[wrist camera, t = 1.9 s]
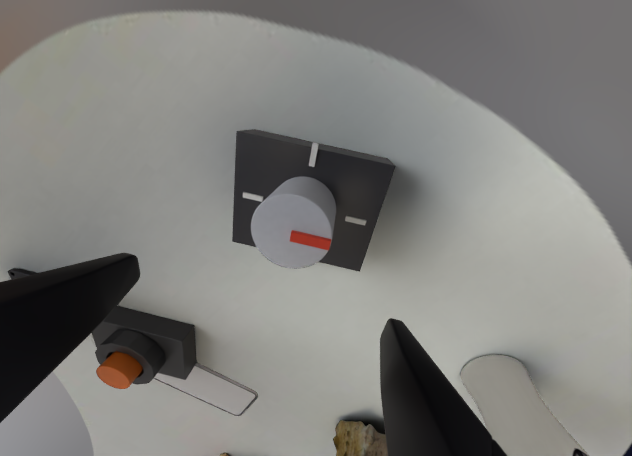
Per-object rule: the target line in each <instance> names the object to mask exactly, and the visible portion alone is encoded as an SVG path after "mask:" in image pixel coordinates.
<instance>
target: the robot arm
mask: <svg viewBox="0 0 632 456" xmlns="http://www.w3.org/2000/svg"><path fill="white" fill-rule="evenodd" d="M8 273H9V275H10V277H11V279H12V280H8V281H4V282H0V423H1V422H2V421H3V420H4V418H6V417H7V416H8V415H9V414H10V413H11V412H12V411H13V410H14V409H15V408H16V407H17V406H18V405H19V404H20V403H21V402H22V401H23V400H24V399H25V398H26V397H27V396H28V395H29V394H30V393H31V392H32V391H33V390H34V389H35V388H36V387H37V386H38V385H39V384H40V383H41V382H42V381H43V380H44V379H45V378H46V377H47V376H48V375H49V374H50V373H51V372H52V371H53V370H54V369H55V368H56V367H57V366H58V365H59V364H60V363H61V362H62V361H63V360H64V359H65V358H66V357H67V356H68V355H69V354H70V353H71V352H72V351H73V350H74V349H75V348H76V347H77V346H78V345H79V344H80V343H81V342H82V341H83V340H85V339H86V338H87V337H88V336H89V335H90V334H91V333H92V332H93V331H94V330H95V329H96V328H97V327H98V326H99V325H100V324H101V323H102V322H103V321H104V319H105V318H106V317H107V316H108V315H109V314H110V313H111V312H112V311H113V309H114V308H115V307H116V306H117V305H118V304H119V302H120V301H121V300H122V299H123V298H124V296H125V295H126V294H127V293H128V292H129V291H130V289H131V288H132V287H133V286H134V285H135V284H136V282H137V281H138V280H139V277H140V269H139V263H138V258H137V257H136V256H135V255H132V254H128V253H120V254H115V255H111V256H107V257H103V258H99V259H95V260H91V261H86V262H82V263H78V264H74V265H70V266H66V267H62V268H57V269H53V270H49V271H45V272H41V273H37V274H36V273H32V272H28V271H24V270H20V269H16V268H14V269H11V270H9V271H8ZM380 383H381V398H382V407H383V416H384V425H385V435H386V444H387V453H388V456H507V454H506V453H505V452H504V451H503V449H502V448H501V447H500V446H499V444H498V443H497V442H496V441H495V440H494V439H492V436H491V434H490V433H489V432H488V430H487V429H486V428H485V427H484V425H483V424H482V423H481V421H480V420H479V419H478V418H477V416H476V415H475V414H474V412H473V411H472V410H471V409H470V407H469V406H468V405H467V404H466V402H465V401H464V400H463V398H462V397H461V396H460V395H459V393H458V392H457V391H456V389H455V388H454V387H453V386H452V384H451V383H450V382H449V381H448V379H447V378H446V377H445V375H444V374H443V373H442V372H441V370H440V369H439V368H438V366H437V365H436V364H435V363H434V361H433V360H432V359H431V358H430V356H429V355H428V354H427V352H426V351H425V350H424V349H423V347H422V346H421V345H420V343H419V342H418V341H417V340H416V338H415V337H414V336H413V335H412V333H411V332H410V331H409V329H408V328H407V327H406V326H405V324H404V323H403V322H402V321H400V320H396V319H392V318H391V319H389V320H388V321H387V323H386V325H385V328H384V330H383V332H382V334H381V338H380Z"/></svg>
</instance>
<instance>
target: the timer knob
mask: <svg viewBox="0 0 632 456" xmlns="http://www.w3.org/2000/svg"><path fill="white" fill-rule="evenodd" d="M335 216H336V203H335V199H334V197H333V195H332V193H331V191H330V190H329V189H328V188H327V187H326V186H325V185H324V184H323V183H321V182H320V181H318V180H316V179H314V178H310V177H294V178H291V179H289V180H287V181H285V182H284V183H282V184H281V185H280V186H279V187H278V188H277V189H276V190H275V191H274V192H273V193H271V194H270V195H269V196H268V197H267V198H266V199H265V200H264V201H263V202H262V203H261V204H260V205H259V206H258V207H257V209H256V210H255V212H254V214H253V217H252V221H251V233H252V237H253V240H254V243H255V245H256V246H257V248H258V249H259V251H260V252H261V253H262V254H263V255H264V256H265V257H266V258H267V259H269V260H270V261H271V262H273V263H275V264H277V265H280V266H283V267H286V268H294V269H297V268H305V267H309V266H311V265H314V264H315V263H317V262H319V261H320V260H321V259H322V258H323V257H324V256H325V255H326V254H327V252H328V250H329V248H330V246H331V242H332V236H333V230H334V223H335Z"/></svg>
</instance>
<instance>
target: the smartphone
mask: <svg viewBox="0 0 632 456" xmlns="http://www.w3.org/2000/svg"><path fill="white" fill-rule="evenodd" d="M154 379H156V380H158V381H160V382H163V383H165V384H167V385H169V386H171V387H173V388H176V389H178V390H180V391H182V392H184V393H187V394H189V395H191V396H193V397H195V398H198V399H200V400H202V401H204V402H206V403H208V404H211V405H213V406H215V407H217V408H219V409H222V410H224V411H226V412H228V413H230V414H233V415H235V416H240V415H242V414H243V413H244V412H245V411H246V410H247V408H248V407H249V406H250V405H251V404H252V403H253V402H254V401H255V400H256V398H257V397H258V394H257V393H256V392H255V391H254V390H252V389H250V388H248V387H246V386H244V385H242V384H240V383H238V382H236V381H233V380H231V379H229V378H227V377H225V376H223V375H221V374H219V373H217V372H214V371H213V370H211V369H209V368H207V367H205V366H203V365H201V364H199V363H197V362H196V364H195V366H194V368H193V369H192V371H191V372H190V374H189V376H188V377H187V379H186V380H183V379H179V378H175V377H172V376H168V375H164V374H160V373H157V374H156V376H155V377H154Z"/></svg>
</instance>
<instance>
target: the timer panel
mask: <svg viewBox="0 0 632 456" xmlns="http://www.w3.org/2000/svg"><path fill="white" fill-rule="evenodd" d="M394 169H395V165H394V164H393V163H392V162H391V161H390V160H389V159H387V158H383V157H378V156H374V155H369V154H365V153H360V152H355V151H351V150H346V149H342V148H337V147H333V146H328V145H323V144H319V143H314V142H310V141H305V140H301V139H296V138H291V137H287V136H282V135H278V134H273V133H269V132H264V131H259V130H255V129H254V130H243V131H237V135H236V161H235V188H234V214H233V240H232V241H233V242H237V243H242V244H246V245H250V246H254V247H257V246H256V245H255V243H254V240H253V237H252V233H251V221H252V217H253V214H254V212H255V210H256V209H257V207H258V206H259V205H260V204H261V203H262V202H263V201H264V200H265V199H266V198H267V197H268V196H269V195H270V194H271V193H273V192H274V191H275V190H276V189H277V188H278V187H279V186H280V185H281V184H282V183H284V182H285V181H287V180H289V179H291V178H294V177H310V178H314V179H316V180H318V181H320V182H321V183H323V184H324V185H325V186H326V187H327V188H328V189H329V190H330V191H331V193H332V195H333V197H334V199H335V203H336V216H335V223H334V230H333V236H332V242H331V246H330V248H329V250H328V252H327V254H326V255H325V256H324V257H323V258H322V259H321V260H320V261H319V262H322V263H326V264H330V265H334V266H338V267H343V268H347V269H351V270H355V271H360V269H361V266H362V263H363V260H364V258H365V255H366V252H367V249H368V246H369V243H370V240H371V237H372V234H373V231H374V228H375V225H376V222H377V219H378V216H379V213H380V210H381V207H382V204H383V201H384V198H385V195H386V192H387V189H388V187H389V184H390V181H391V178H392V175H393V172H394Z"/></svg>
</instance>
